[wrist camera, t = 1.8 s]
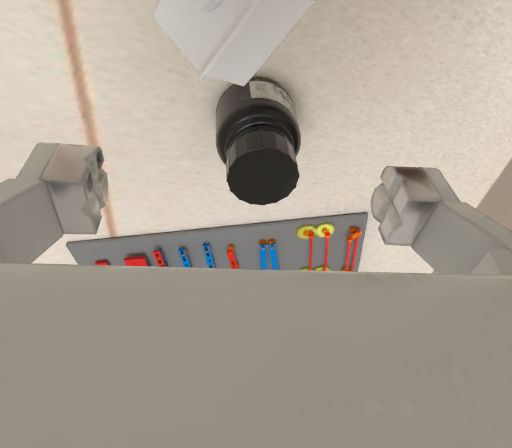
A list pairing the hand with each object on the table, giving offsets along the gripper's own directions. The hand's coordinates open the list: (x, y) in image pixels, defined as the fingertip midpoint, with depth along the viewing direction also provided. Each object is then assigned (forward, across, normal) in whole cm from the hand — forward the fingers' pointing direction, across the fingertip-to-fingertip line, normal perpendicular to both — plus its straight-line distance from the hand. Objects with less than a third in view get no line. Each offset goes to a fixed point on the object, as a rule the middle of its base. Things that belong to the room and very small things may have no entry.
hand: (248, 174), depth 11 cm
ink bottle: (+31, -4, +15) cm, 35 cm away
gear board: (+31, -2, +44) cm, 54 cm away
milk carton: (+31, 0, 0) cm, 31 cm away
